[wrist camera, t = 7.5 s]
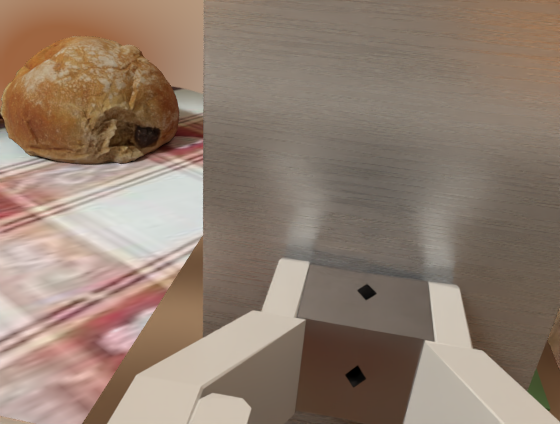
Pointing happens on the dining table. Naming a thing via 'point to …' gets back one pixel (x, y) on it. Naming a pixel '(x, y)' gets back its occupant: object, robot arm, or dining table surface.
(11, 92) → the bread roll
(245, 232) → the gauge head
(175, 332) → the base
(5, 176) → the dining table surface
